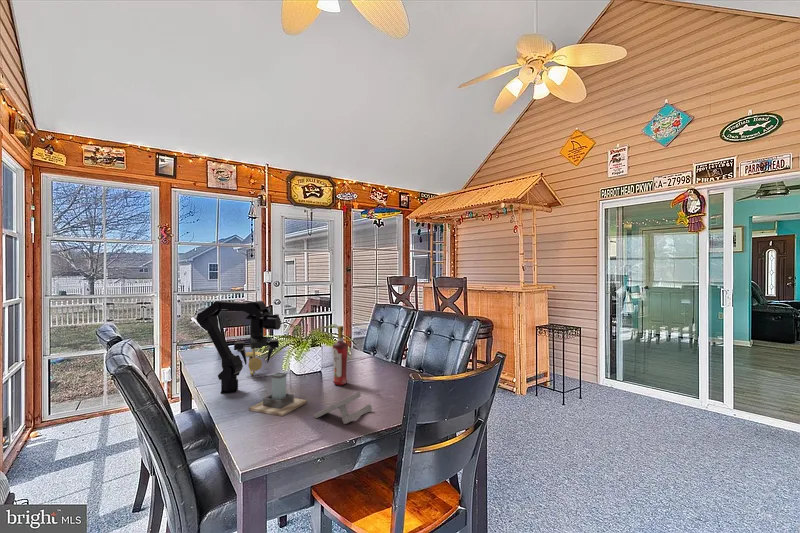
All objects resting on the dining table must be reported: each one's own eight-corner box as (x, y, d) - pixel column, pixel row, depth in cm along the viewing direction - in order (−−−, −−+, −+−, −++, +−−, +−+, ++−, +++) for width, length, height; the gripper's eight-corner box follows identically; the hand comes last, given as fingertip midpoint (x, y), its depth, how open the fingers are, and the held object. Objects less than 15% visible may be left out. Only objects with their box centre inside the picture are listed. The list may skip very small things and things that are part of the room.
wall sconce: (264, 376, 200) (265, 328, 200) (245, 379, 195) (245, 329, 195) (258, 370, 212) (259, 324, 212) (240, 372, 207) (240, 326, 207)
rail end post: (271, 404, 157) (271, 375, 157) (277, 401, 161) (278, 372, 161) (279, 406, 155) (279, 376, 155) (286, 402, 159) (286, 373, 159)
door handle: (320, 435, 144) (355, 419, 134) (313, 414, 147) (346, 397, 137) (352, 419, 159) (386, 403, 149) (344, 400, 161) (377, 383, 151)
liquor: (329, 384, 188) (329, 326, 188) (341, 380, 193) (341, 324, 193) (338, 387, 183) (339, 328, 183) (350, 384, 188) (351, 326, 188)
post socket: (248, 410, 153) (248, 400, 153) (275, 397, 168) (275, 388, 168) (282, 416, 148) (282, 405, 148) (306, 402, 162) (306, 392, 162)
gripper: (233, 333, 164) (232, 370, 164) (279, 330, 170) (279, 366, 170) (235, 329, 175) (235, 363, 175) (278, 327, 181) (278, 360, 181)
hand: (256, 363), depth 175 cm, fingers open, 9 cm apart
